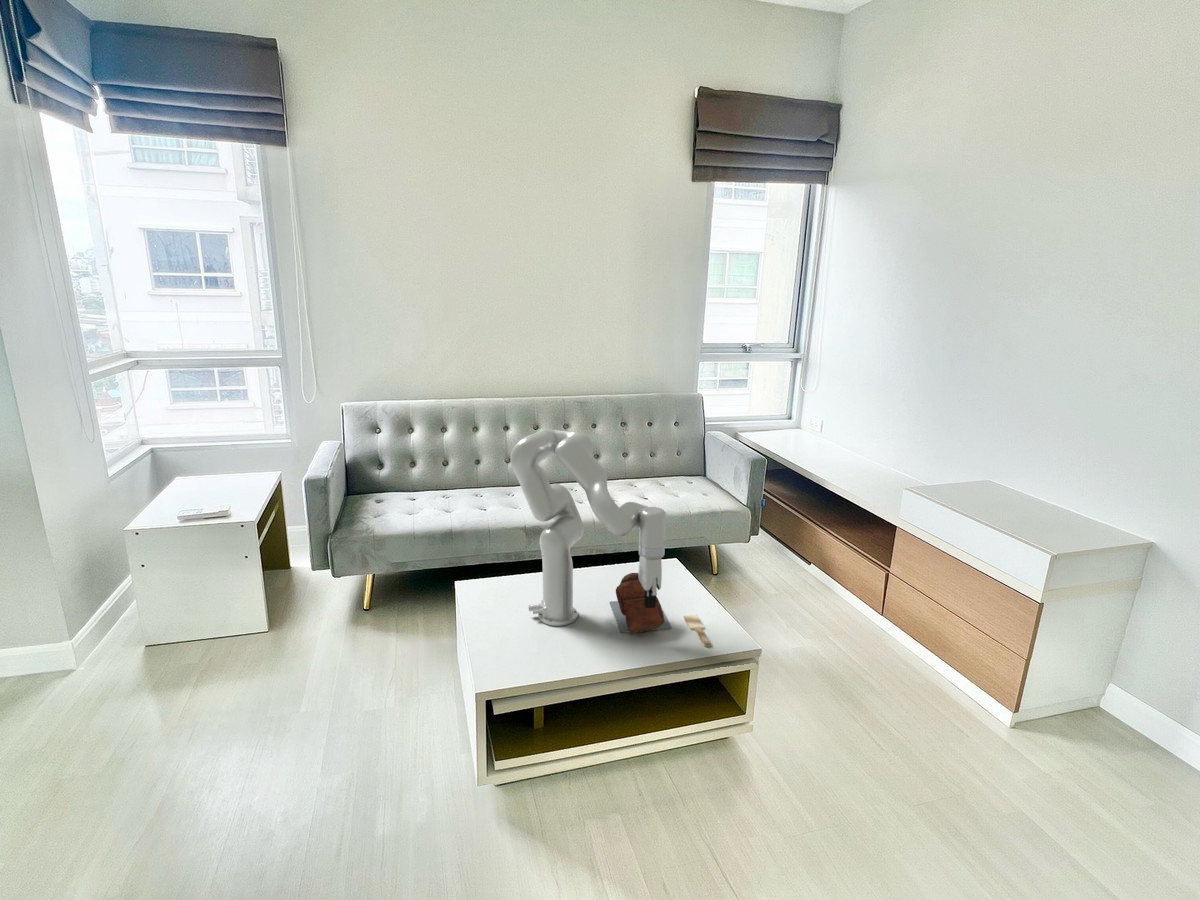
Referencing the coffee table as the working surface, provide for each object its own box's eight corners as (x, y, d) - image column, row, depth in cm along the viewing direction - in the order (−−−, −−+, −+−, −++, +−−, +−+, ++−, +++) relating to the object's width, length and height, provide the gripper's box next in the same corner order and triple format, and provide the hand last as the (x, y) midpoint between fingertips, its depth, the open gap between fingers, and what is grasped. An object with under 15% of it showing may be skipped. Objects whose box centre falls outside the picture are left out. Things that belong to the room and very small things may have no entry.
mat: (620, 632, 189) (620, 630, 189) (609, 603, 207) (609, 601, 207) (671, 628, 192) (671, 627, 192) (655, 600, 210) (656, 598, 210)
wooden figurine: (662, 628, 191) (644, 575, 201) (667, 620, 186) (648, 567, 196) (626, 636, 188) (610, 582, 198) (630, 628, 183) (613, 573, 193)
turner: (715, 646, 182) (715, 643, 182) (700, 647, 182) (700, 644, 181) (696, 616, 200) (696, 613, 199) (683, 617, 199) (683, 614, 199)
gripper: (633, 540, 187) (632, 595, 191) (645, 560, 173) (643, 620, 177) (657, 539, 188) (655, 594, 193) (671, 559, 174) (668, 618, 178)
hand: (649, 606), depth 185 cm, fingers closed
